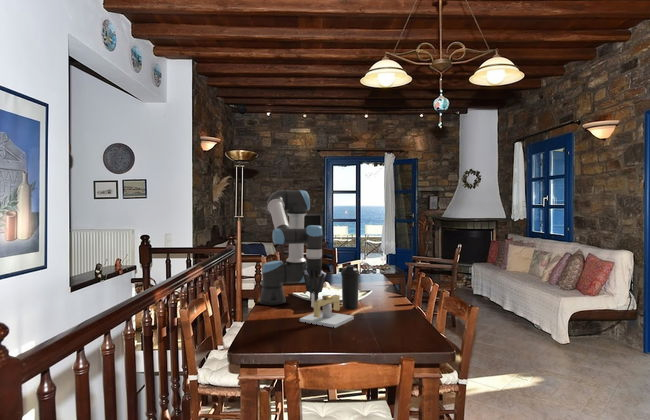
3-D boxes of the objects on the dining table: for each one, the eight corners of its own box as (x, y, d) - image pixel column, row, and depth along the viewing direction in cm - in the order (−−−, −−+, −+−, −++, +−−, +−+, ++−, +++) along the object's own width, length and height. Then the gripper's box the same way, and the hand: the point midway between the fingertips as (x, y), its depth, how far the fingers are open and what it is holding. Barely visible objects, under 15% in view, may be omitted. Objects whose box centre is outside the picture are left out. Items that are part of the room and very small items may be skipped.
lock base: (299, 321, 214) (299, 305, 214) (319, 313, 230) (319, 298, 229) (335, 327, 204) (335, 310, 204) (353, 319, 219) (353, 302, 219)
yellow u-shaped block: (319, 318, 208) (320, 300, 208) (311, 316, 211) (311, 298, 210) (341, 310, 222) (341, 293, 222) (333, 308, 225) (333, 292, 225)
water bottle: (359, 305, 247) (359, 264, 247) (359, 309, 237) (359, 267, 237) (341, 304, 248) (341, 264, 248) (340, 309, 238) (340, 266, 238)
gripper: (329, 257, 211) (329, 306, 212) (307, 255, 218) (307, 303, 219) (321, 259, 205) (321, 310, 206) (298, 257, 212) (298, 306, 212)
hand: (314, 306), depth 212 cm, fingers closed
